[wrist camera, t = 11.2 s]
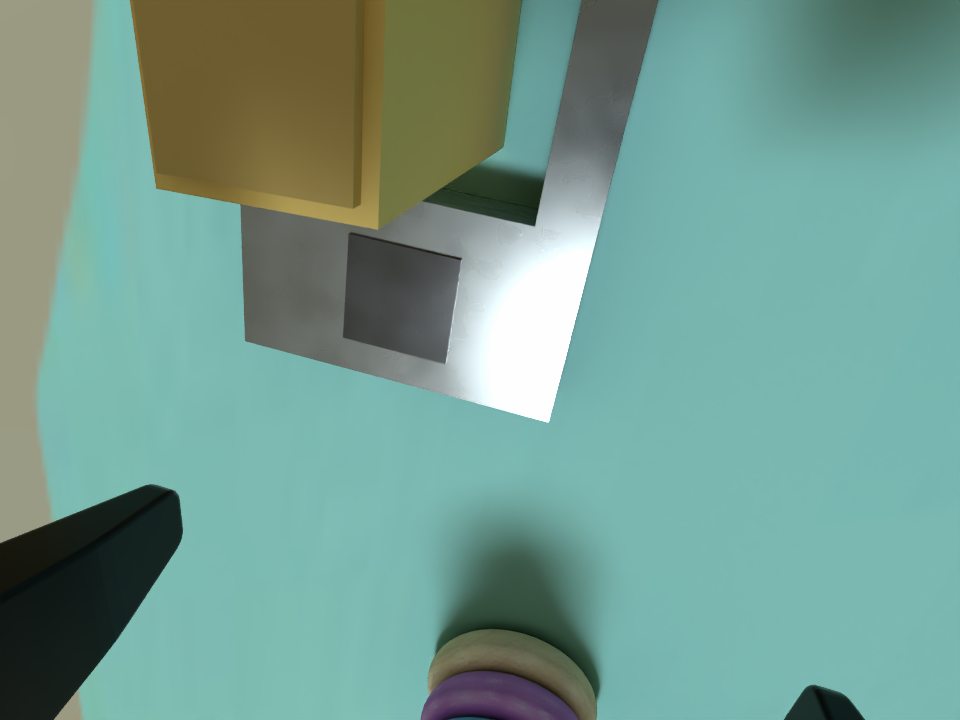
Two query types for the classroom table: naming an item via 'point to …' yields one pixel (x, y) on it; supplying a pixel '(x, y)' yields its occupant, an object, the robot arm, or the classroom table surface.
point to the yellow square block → (323, 99)
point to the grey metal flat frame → (460, 255)
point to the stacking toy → (506, 680)
